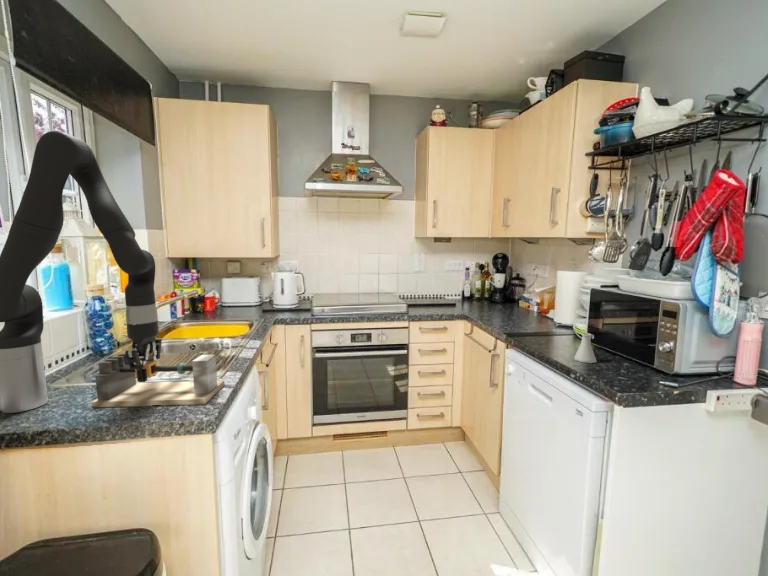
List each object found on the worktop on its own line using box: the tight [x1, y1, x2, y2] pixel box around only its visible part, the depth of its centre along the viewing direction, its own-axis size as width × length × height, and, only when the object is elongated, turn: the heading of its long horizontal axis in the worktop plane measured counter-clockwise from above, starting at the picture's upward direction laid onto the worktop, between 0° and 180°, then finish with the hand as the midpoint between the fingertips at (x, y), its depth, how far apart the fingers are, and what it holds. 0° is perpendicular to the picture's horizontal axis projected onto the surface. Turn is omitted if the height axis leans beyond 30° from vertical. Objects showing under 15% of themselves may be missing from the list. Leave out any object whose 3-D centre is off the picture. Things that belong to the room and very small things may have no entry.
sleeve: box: [135, 360, 159, 379], centre depth 108 cm, size 4×4×4 cm
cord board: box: [91, 353, 225, 408], centre depth 108 cm, size 30×14×12 cm, turn 92°
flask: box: [573, 332, 597, 364], centre depth 137 cm, size 7×7×10 cm
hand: (147, 378), depth 108 cm, fingers open, 4 cm apart
